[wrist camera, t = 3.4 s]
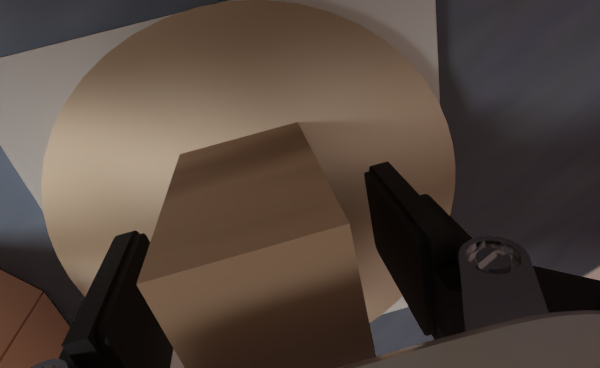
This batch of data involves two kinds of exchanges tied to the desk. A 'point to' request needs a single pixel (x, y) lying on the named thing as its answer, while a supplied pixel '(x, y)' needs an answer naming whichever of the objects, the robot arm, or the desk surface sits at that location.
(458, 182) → the desk surface
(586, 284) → the robot arm
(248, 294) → the lid
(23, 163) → the mat
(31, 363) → the bowl
